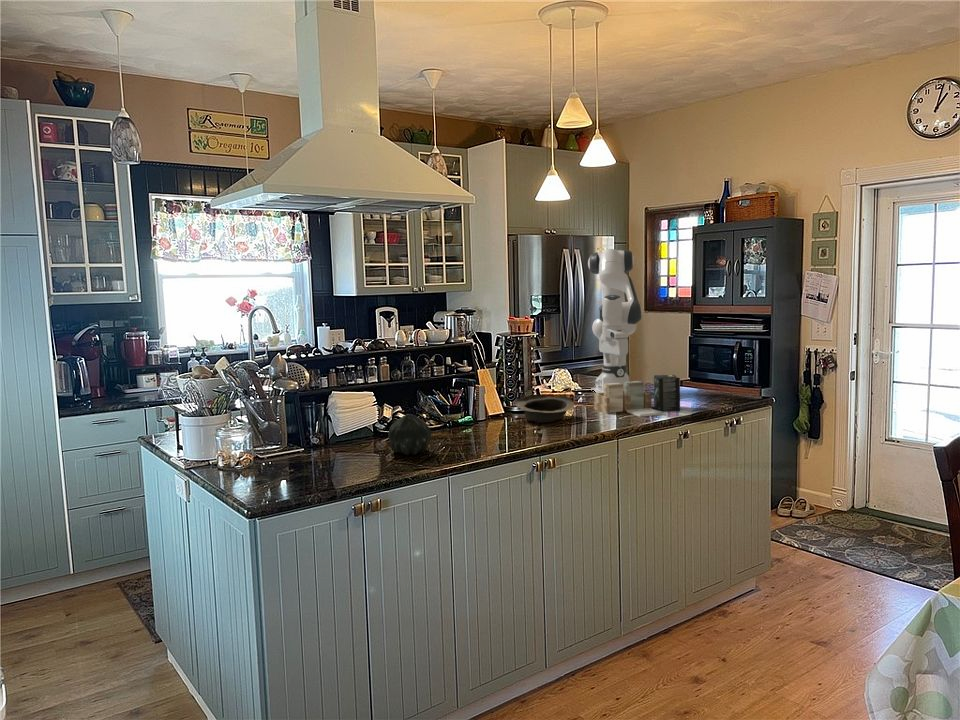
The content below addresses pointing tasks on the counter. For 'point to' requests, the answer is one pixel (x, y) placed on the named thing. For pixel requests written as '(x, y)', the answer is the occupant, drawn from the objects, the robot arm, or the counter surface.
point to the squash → (409, 435)
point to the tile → (644, 412)
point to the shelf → (625, 398)
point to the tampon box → (667, 392)
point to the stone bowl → (544, 407)
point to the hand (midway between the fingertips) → (613, 364)
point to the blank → (614, 396)
